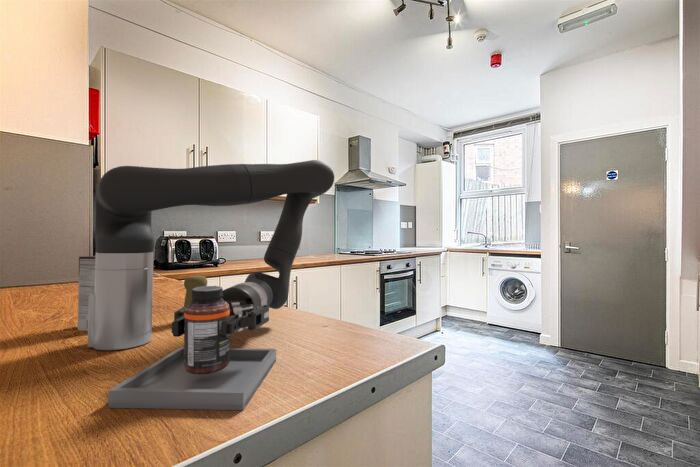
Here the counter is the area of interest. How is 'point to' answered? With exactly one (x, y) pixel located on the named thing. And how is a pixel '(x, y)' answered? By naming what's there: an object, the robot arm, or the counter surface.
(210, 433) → the counter surface
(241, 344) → the counter surface
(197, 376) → the tray
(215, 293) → the supplement bottle
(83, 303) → the coffee box
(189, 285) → the cork
